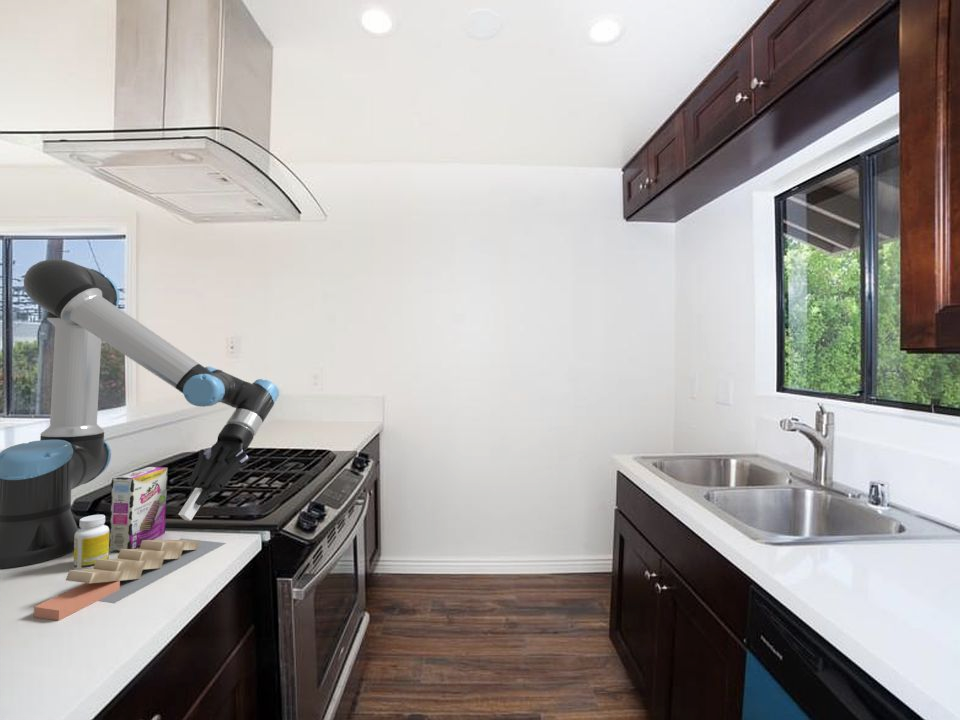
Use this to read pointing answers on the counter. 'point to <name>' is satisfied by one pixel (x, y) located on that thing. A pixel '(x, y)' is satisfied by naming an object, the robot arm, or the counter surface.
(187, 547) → the domino
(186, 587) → the counter surface
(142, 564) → the domino
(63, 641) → the counter surface
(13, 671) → the counter surface
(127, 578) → the domino
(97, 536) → the supplement bottle
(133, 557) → the domino
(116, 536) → the candy bar box
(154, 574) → the mat
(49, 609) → the domino
